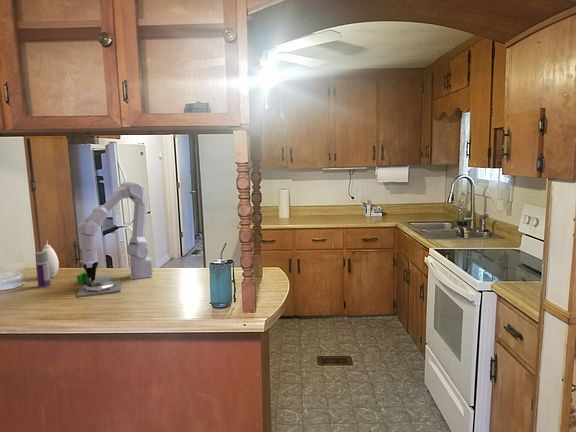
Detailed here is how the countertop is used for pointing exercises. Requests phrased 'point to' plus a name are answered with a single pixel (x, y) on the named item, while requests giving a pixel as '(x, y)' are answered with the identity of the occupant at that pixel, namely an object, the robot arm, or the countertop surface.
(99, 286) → the sprocket
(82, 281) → the pipe clamp
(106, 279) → the mat
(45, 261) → the container
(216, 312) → the countertop surface
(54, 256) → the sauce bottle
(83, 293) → the mount plate
